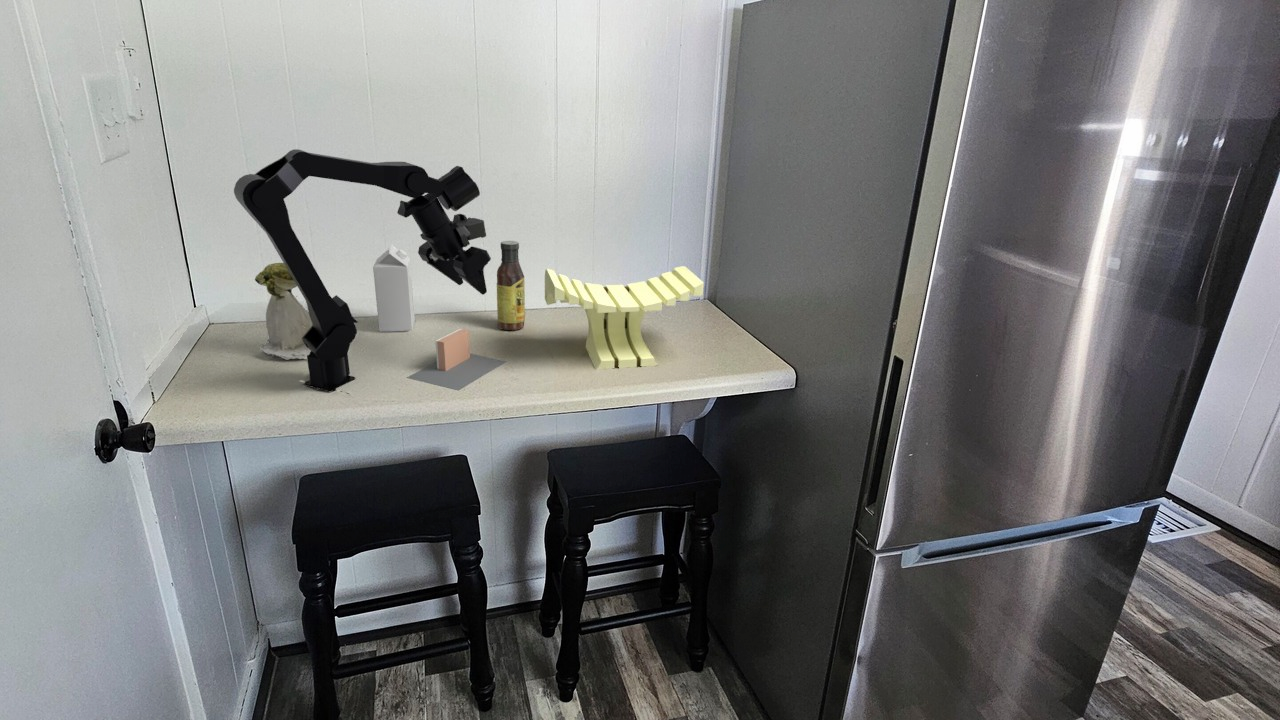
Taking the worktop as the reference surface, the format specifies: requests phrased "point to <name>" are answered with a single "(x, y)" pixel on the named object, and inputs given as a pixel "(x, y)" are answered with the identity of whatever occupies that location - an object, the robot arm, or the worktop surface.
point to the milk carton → (394, 291)
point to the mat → (458, 372)
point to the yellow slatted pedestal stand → (621, 312)
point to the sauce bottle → (510, 289)
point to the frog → (284, 314)
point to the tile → (452, 349)
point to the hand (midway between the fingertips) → (472, 288)
